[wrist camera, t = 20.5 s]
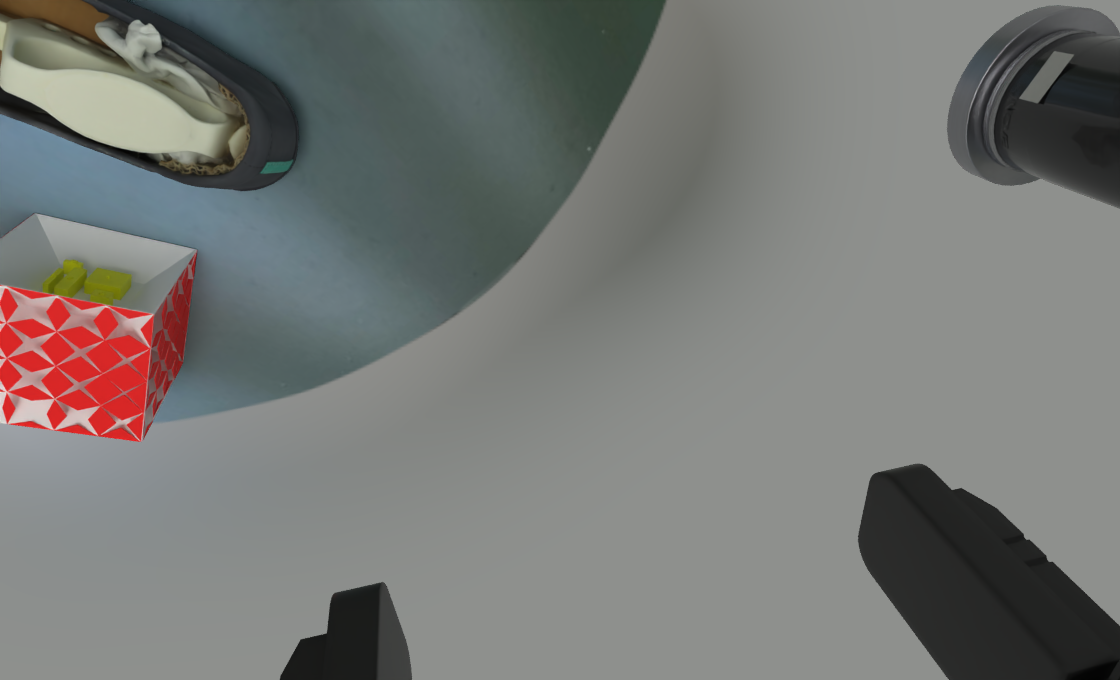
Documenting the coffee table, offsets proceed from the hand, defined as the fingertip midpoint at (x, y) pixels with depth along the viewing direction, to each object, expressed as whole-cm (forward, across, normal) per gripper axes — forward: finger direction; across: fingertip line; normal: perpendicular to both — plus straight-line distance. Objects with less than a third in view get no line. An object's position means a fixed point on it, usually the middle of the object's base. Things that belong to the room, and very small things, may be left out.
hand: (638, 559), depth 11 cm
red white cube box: (+32, +22, +7) cm, 40 cm away
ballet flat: (+32, +19, -7) cm, 38 cm away
